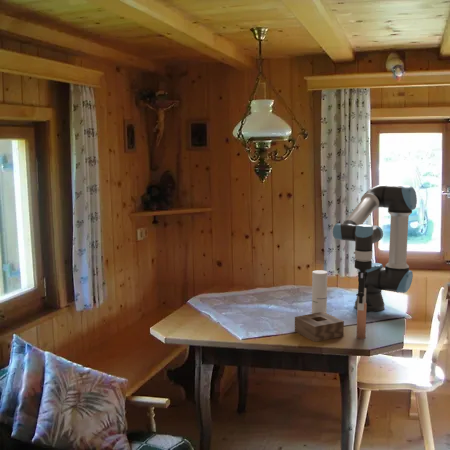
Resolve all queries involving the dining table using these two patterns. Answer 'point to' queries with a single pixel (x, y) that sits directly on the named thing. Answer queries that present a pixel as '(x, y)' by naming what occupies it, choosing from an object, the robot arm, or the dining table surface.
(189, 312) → the dining table surface
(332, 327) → the socket block
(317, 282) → the cylindrical container
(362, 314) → the peg
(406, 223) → the robot arm
